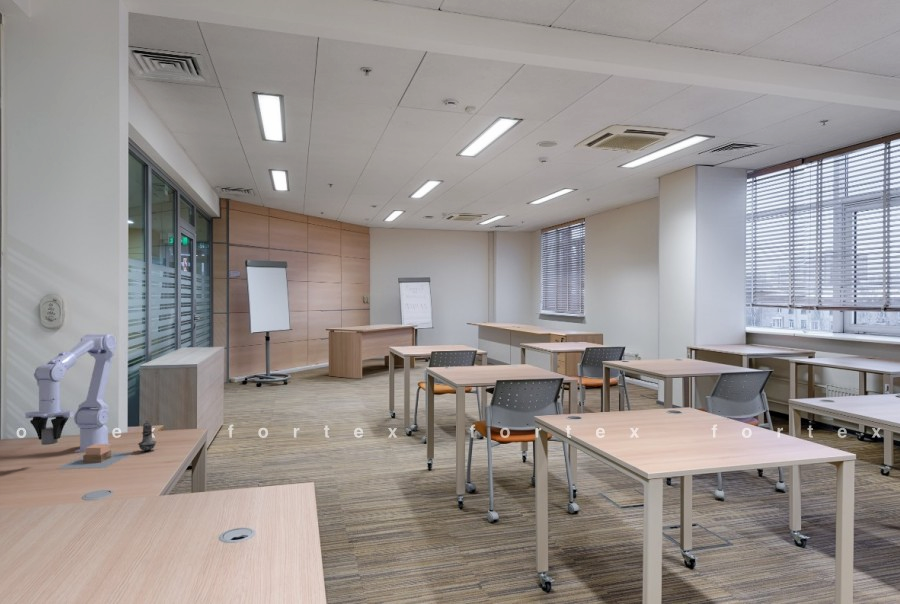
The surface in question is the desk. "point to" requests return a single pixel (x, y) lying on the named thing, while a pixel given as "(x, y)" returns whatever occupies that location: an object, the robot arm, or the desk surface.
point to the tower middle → (97, 449)
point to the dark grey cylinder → (48, 436)
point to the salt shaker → (147, 439)
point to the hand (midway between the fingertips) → (49, 438)
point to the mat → (79, 463)
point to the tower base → (96, 457)
